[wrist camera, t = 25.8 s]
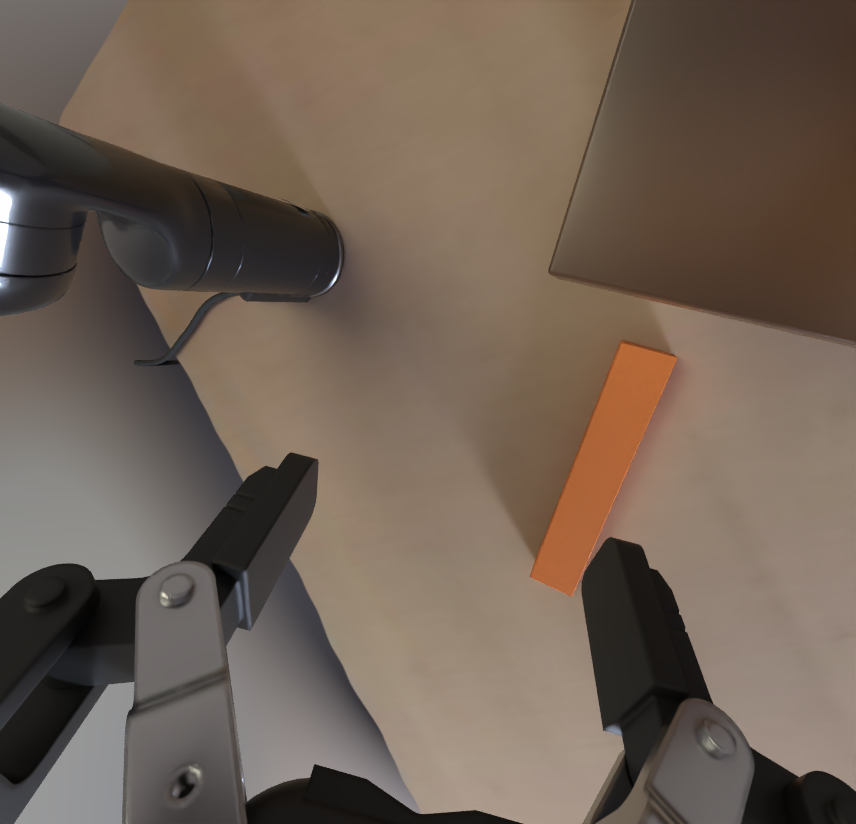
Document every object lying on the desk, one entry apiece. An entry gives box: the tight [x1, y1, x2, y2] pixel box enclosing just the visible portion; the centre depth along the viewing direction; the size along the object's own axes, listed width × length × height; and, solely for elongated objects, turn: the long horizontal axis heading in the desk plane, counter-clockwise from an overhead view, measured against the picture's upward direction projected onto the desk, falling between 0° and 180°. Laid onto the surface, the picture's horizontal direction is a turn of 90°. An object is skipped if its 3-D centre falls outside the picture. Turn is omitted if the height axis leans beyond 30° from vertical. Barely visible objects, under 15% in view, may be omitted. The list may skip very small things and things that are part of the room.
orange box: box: [530, 340, 677, 597], centre depth 40 cm, size 25×4×3 cm, turn 166°
